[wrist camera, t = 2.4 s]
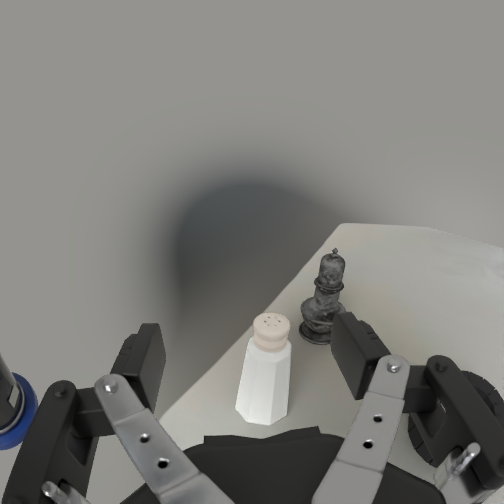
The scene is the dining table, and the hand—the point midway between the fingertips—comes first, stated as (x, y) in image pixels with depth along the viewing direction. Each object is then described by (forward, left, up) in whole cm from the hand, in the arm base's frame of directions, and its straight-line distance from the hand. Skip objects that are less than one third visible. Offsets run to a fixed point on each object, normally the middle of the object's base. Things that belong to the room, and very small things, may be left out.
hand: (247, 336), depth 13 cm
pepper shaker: (+5, +6, -16) cm, 18 cm away
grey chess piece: (+17, +13, -16) cm, 27 cm away
